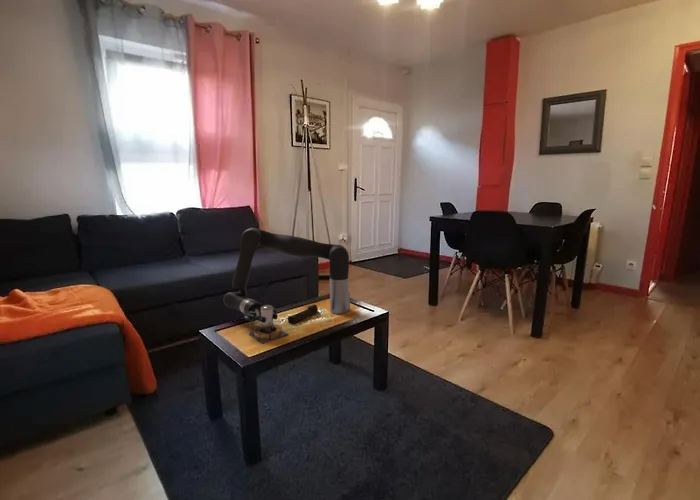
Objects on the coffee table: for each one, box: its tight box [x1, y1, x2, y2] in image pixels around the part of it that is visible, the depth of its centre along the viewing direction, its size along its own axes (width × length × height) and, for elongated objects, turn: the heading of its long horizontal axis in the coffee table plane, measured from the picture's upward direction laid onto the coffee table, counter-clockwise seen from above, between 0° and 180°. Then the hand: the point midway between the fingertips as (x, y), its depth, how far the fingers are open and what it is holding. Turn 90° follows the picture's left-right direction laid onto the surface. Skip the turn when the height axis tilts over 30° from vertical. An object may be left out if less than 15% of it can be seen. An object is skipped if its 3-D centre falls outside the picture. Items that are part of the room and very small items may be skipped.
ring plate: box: [248, 324, 289, 344], centre depth 155 cm, size 12×12×2 cm
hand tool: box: [287, 304, 319, 325], centre depth 173 cm, size 19×4×5 cm, turn 142°
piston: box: [260, 304, 275, 333], centre depth 153 cm, size 5×5×11 cm
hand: (270, 318), depth 151 cm, fingers closed on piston, 5 cm apart
